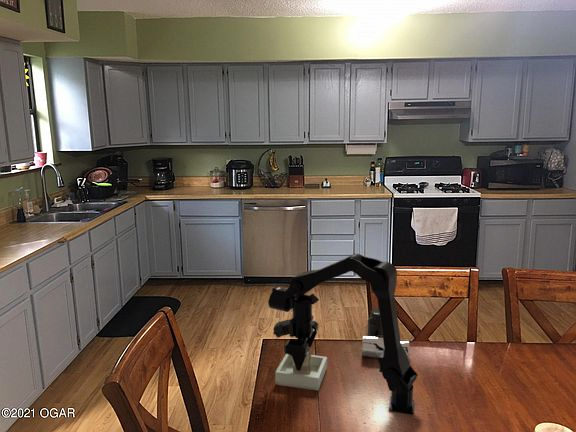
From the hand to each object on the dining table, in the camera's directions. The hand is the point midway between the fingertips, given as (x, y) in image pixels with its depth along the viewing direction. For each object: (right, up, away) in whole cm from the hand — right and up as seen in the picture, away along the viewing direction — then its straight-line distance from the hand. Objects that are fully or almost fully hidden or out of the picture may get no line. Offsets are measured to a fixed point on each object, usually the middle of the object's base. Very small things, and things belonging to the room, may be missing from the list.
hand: (302, 362), depth 146 cm
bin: (0, -4, +1) cm, 4 cm away
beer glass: (+35, +1, +11) cm, 37 cm away
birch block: (0, -4, +1) cm, 4 cm away
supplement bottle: (+27, 0, +22) cm, 35 cm away
